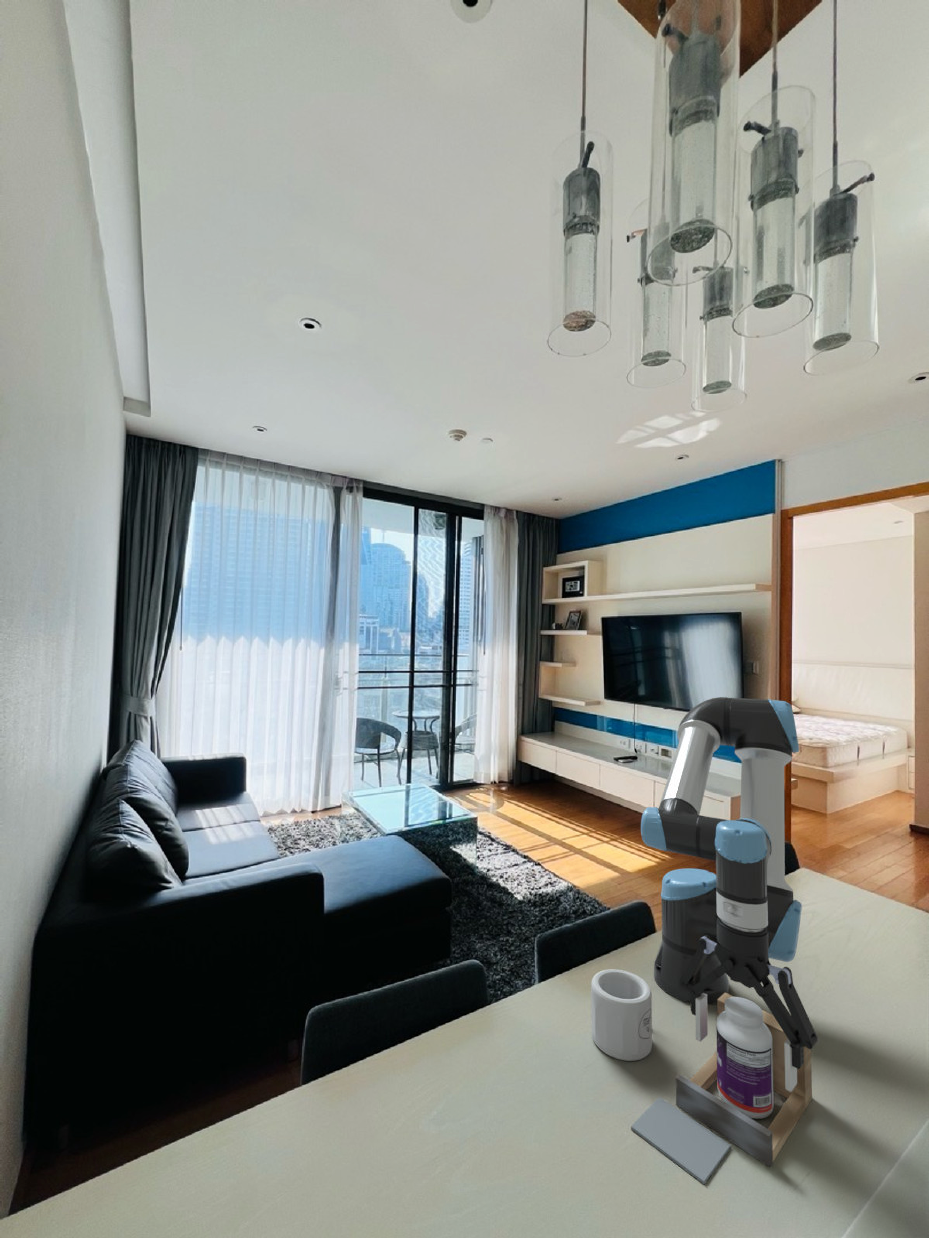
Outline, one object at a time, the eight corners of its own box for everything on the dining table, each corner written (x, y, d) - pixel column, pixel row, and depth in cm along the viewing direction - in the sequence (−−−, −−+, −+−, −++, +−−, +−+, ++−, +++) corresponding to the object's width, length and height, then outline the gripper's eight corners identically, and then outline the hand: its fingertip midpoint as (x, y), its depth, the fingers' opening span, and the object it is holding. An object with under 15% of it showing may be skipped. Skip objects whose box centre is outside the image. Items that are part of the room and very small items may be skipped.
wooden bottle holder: (676, 1104, 84) (675, 1037, 85) (725, 1050, 96) (725, 992, 97) (769, 1167, 74) (768, 1090, 75) (812, 1097, 86) (810, 1032, 87)
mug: (635, 1072, 91) (634, 1011, 91) (580, 1040, 98) (580, 983, 99) (668, 1033, 100) (667, 978, 101) (615, 1007, 108) (615, 955, 109)
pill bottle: (724, 1073, 91) (723, 985, 92) (778, 1099, 86) (776, 1005, 87) (711, 1103, 85) (709, 1008, 86) (768, 1132, 80) (766, 1031, 81)
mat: (630, 1128, 80) (630, 1126, 80) (659, 1099, 85) (659, 1096, 85) (704, 1184, 71) (704, 1181, 72) (730, 1147, 77) (730, 1144, 77)
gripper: (659, 901, 94) (659, 1028, 92) (823, 962, 76) (827, 1124, 74) (679, 890, 99) (680, 1011, 97) (838, 945, 80) (843, 1096, 79)
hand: (743, 1060), depth 85 cm, fingers open, 13 cm apart
